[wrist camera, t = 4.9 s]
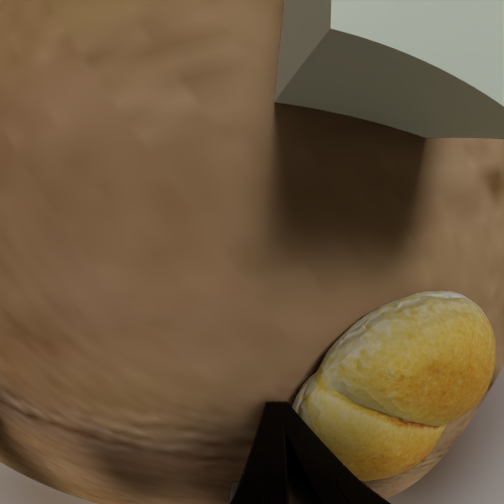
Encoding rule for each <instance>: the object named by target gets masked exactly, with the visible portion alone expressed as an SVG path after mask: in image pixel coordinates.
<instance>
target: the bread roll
mask: <svg viewBox="0 0 504 504" xmlns="http://www.w3.org/2000/svg"><path fill="white" fill-rule="evenodd" d="M495 356H496V349H495V337H494V333H493V330H492V327H491V325H490V322H489V320H488V319H487V317H486V315H485V314H484V312H483V311H482V310H481V308H480V307H479V306H478V305H476V304H475V303H474V302H472V301H471V300H470V299H468V298H466V297H465V296H463V295H461V294H459V293H455V292H452V291H426V292H422V293H417V294H413V295H410V296H407V297H405V298H402V299H399V300H396V301H393V302H390V303H388V304H386V305H383V306H381V307H379V308H377V309H375V310H373V311H371V312H370V313H368V314H367V315H365V316H364V317H363V318H362V319H361V320H359V321H358V322H356V323H355V324H354V325H352V326H351V327H350V328H349V329H348V330H347V331H346V332H345V333H344V334H343V335H342V336H341V337H340V338H339V339H338V340H337V341H336V342H335V343H334V344H333V346H332V347H331V348H330V349H329V350H328V352H327V353H326V355H325V357H324V359H323V361H322V363H321V365H320V367H319V369H318V370H317V372H316V373H315V374H313V375H312V376H310V377H309V379H308V380H307V381H306V382H305V383H304V384H303V386H302V387H301V389H300V391H299V393H298V395H297V396H296V398H295V401H294V403H293V406H292V408H293V409H294V410H295V411H296V412H297V413H298V415H299V416H300V417H301V418H302V419H303V420H304V421H305V423H306V424H307V425H308V426H309V427H310V428H311V429H312V430H313V432H314V433H315V434H316V435H317V436H318V437H319V438H320V439H321V440H322V442H323V443H324V444H325V445H326V446H327V447H328V448H329V449H330V450H331V451H332V452H333V453H334V455H335V456H336V457H337V458H338V459H339V460H340V461H341V462H342V463H343V465H345V466H346V467H347V468H348V469H349V470H350V471H351V472H352V473H353V474H354V475H355V476H356V477H357V478H358V479H359V480H360V481H372V480H379V479H385V478H389V477H392V476H395V475H398V474H401V473H403V472H405V471H407V470H409V469H411V468H412V467H414V466H415V465H417V464H418V463H420V462H421V461H422V460H423V459H424V458H426V457H427V456H428V455H429V454H430V452H431V451H432V450H433V448H434V447H435V445H436V444H437V442H438V440H439V438H440V436H441V434H442V432H443V430H444V428H445V426H446V424H447V423H450V422H452V421H454V420H456V419H458V418H460V417H461V416H463V415H465V414H466V413H467V412H468V411H469V410H471V409H472V408H473V407H474V406H475V405H476V404H477V403H478V402H479V401H480V399H481V398H482V397H483V395H484V394H485V392H486V391H487V388H488V386H489V384H490V381H491V378H492V375H493V371H494V367H495Z"/></svg>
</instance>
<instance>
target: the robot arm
mask: <svg viewBox="0 0 504 504" xmlns="http://www.w3.org/2000/svg"><path fill="white" fill-rule="evenodd" d="M229 504H390V503H389V502H388V501H386V500H385V499H384V498H382V497H381V496H380V495H378V494H377V493H375V492H374V491H373V490H371V489H370V488H369V487H368V486H366V485H365V484H364V483H363V482H362V481H360V480H359V479H358V478H357V477H356V476H355V475H354V474H353V473H352V472H351V471H350V470H349V469H348V468H347V467H346V466H345V465H343V463H342V462H341V461H340V460H339V459H338V458H337V457H336V456H335V455H334V453H333V452H332V451H331V450H330V449H329V448H328V447H327V446H326V445H325V444H324V443H323V442H322V440H321V439H320V438H319V437H318V436H317V435H316V434H315V433H314V432H313V430H312V429H311V428H310V427H309V426H308V425H307V424H306V423H305V421H304V420H303V419H302V418H301V417H300V416H299V415H298V413H297V412H296V411H295V410H294V409H293V408H292V406H291V405H290V404H289V403H288V402H286V401H280V402H266V403H265V405H264V409H263V412H262V415H261V419H260V422H259V425H258V428H257V431H256V434H255V438H254V441H253V444H252V447H251V450H250V453H249V456H248V459H247V462H246V465H245V468H244V471H243V474H242V476H241V479H240V482H239V484H238V487H237V489H236V492H235V494H234V496H233V498H232V500H231V501H230V503H229Z"/></svg>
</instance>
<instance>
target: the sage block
mask: <svg viewBox="0 0 504 504" xmlns="http://www.w3.org/2000/svg"><path fill="white" fill-rule="evenodd" d="M274 102H276V103H283V104H290V105H296V106H302V107H308V108H313V109H319V110H324V111H329V112H334V113H338V114H343V115H347V116H352V117H356V118H360V119H364V120H368V121H372V122H375V123H379V124H383V125H386V126H390V127H393V128H396V129H400V130H403V131H406V132H409V133H412V134H415V135H418V136H421V137H424V138H491V139H504V0H284V10H283V20H282V30H281V40H280V50H279V60H278V70H277V80H276V89H275V99H274Z"/></svg>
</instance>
